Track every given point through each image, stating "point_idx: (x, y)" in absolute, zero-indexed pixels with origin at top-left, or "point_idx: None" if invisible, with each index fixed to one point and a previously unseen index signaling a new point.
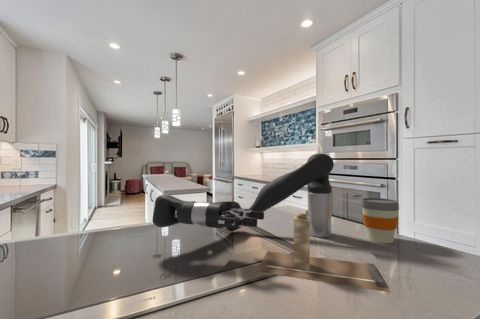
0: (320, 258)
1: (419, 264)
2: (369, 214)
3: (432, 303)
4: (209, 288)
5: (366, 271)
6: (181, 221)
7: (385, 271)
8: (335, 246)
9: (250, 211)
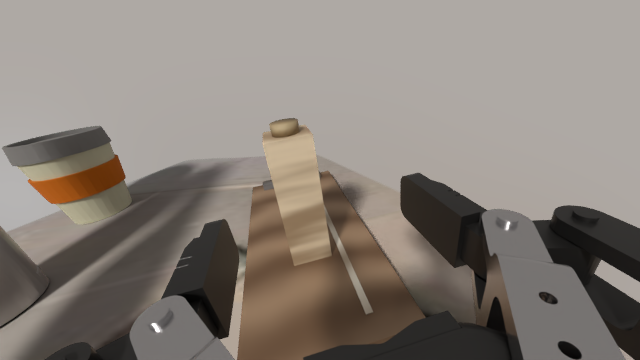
0: (252, 235)
1: (221, 176)
2: (81, 166)
3: None
4: None
5: None
6: None
7: None
8: (138, 250)
9: (190, 307)
